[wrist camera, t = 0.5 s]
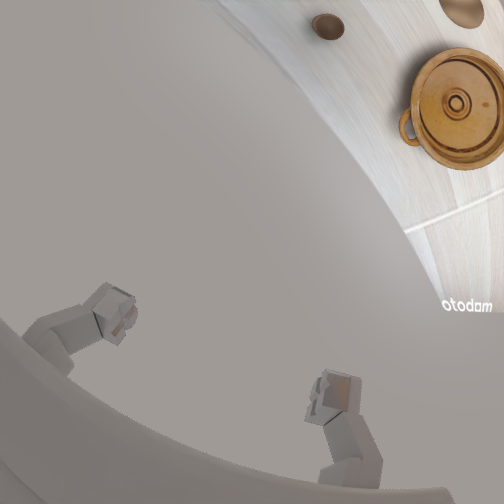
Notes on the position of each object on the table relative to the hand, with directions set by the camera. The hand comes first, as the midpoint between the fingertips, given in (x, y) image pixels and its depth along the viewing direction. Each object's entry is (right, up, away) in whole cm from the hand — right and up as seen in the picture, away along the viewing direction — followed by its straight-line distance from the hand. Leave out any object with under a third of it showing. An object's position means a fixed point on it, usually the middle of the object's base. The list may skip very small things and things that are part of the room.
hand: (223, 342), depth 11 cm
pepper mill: (+13, +41, +23) cm, 49 cm away
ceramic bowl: (+40, +33, +26) cm, 58 cm away
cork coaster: (+38, +47, +10) cm, 61 cm away
